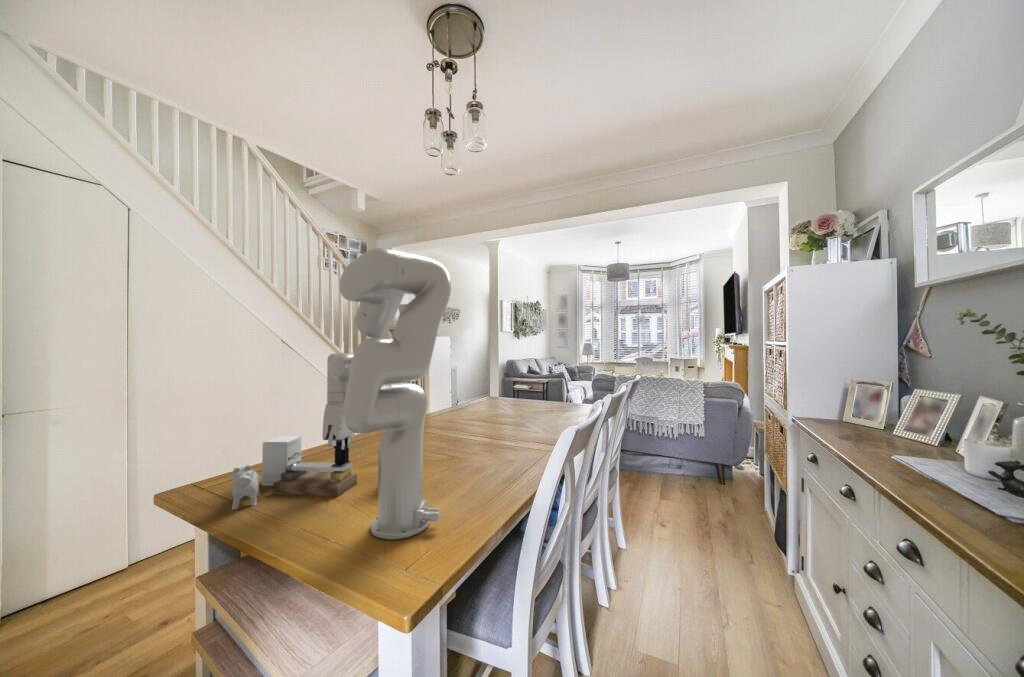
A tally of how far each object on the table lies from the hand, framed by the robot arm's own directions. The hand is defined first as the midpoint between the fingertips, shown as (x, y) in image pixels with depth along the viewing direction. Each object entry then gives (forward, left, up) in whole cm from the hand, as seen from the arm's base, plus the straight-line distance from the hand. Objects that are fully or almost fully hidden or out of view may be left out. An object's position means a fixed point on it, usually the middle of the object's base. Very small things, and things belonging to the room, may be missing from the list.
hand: (341, 462), depth 100 cm
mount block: (+8, 0, -8) cm, 11 cm away
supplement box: (+22, -4, -8) cm, 23 cm away
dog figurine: (+19, +11, -8) cm, 23 cm away
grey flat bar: (+7, 0, -2) cm, 7 cm away
